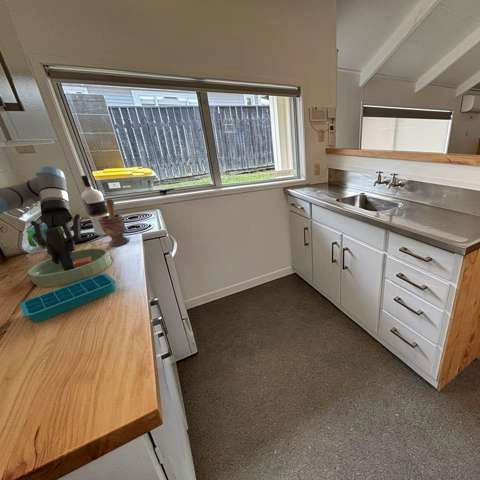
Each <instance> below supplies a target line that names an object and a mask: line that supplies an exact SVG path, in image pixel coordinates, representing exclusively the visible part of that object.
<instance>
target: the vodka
mask: <svg viewBox="0 0 480 480" xmlns="http://www.w3.org/2000/svg"><path fill="white" fill-rule="evenodd" d="M80 178H81V180H82V183H83V185H84V188H85V190H84V191H83V192H82V193H80V198H81V200H82V202H83V203H84V207H85V208H86V211H87V215H88V217H89V219H90V221H91V224H92V227H93V232H94V234H95V236H98V237H103V236H107V235H106V234H105V232H104V231H103V229H102V227H101V225H100V223H99V220H98V219H99V218H101V217H104V216H109V213H108V209H107V205H106V200H105V198H104V195H103V193H102V191H100V190H98V189H95V188H93V186H92V184H91V183H92V182H91V181H90V178H89V175H81V177H80Z"/></svg>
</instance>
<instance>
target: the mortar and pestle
mask: <svg viewBox="0 0 480 480" xmlns="http://www.w3.org/2000/svg"><path fill="white" fill-rule="evenodd" d="M105 204H106V206H107V209H108V213H109V216H104V217H101V218H99V219H98V220H99V223H100V225H101V227H102V229H103V231H104V232H105V234H106V235H105V236H108V237H109V238H111V239H110V240H109V246H110V247H115V246H116V247H119V246H123V245H125V244H128V243H130V239H128V238H127V237H125V236H124V233H125V232H126V223H125V221H124V217H123V215H122V214H115V201H114V200H113V199H111V198H108V199H106V200H105Z"/></svg>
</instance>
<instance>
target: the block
mask: <svg viewBox="0 0 480 480" xmlns="http://www.w3.org/2000/svg"><path fill="white" fill-rule="evenodd" d="M91 262H93V261H92V258H91V257H87V258H82V259H77V260H75V262H74V263H73V266H74V268H78V267H81V266H84V265H86V264H89V263H91Z"/></svg>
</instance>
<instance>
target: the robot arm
mask: <svg viewBox="0 0 480 480" xmlns="http://www.w3.org/2000/svg"><path fill="white" fill-rule="evenodd" d="M36 203H39V205H40V206H39V207H40V213H41V216H40V217H39V219H38V220H36V221H35V220H31V221H30V222H29V223H30V225H31V226H32V227H34V229H35V233H36V237H37V241H38V244H39V245H41V246H42V247H47V248H46V252H47V255H48V256H51V258H52V261H53V262H54V263H55V264H59V258H58V256H57V254H56V252H55V250H54V248H53V246H52V244H51V242H50V239H49V237H48V235H47V236H46V240H45V236H44V233H43V229H42V228H41V227H42V225H43V224H47V230H49V229H55V228H57V227H61V228H62V229H63V231H64V236H65V239H66V241H65V248H66V255H67V259H69V260H70V261H74V260H73V254H72V252H73V251H76V244H75V243H76V242H80V241H82V229H81V223H82V221H83V217H82V216H81V215H80V214H79V213H77V214H72V212H71V205H70V199H69V193H68V187H67V179H66V175H65V173H64V172H63V170H61V169H60V168H57V167H54V166H50V165H49V166H48V165H47V166H41V167H39V168H37V169H36V173H35V177H33V178H30V179H29V180H27V181H24V182H22V183H19V184H16V185H10V186H6V187H0V215H1V214H4V213H5V212H9V211H12V210H16V209H24V208H27V207H30V206H33V205H34V204H36ZM72 220H73V221H72ZM71 221H72V223H73V224H72V225H73V227H72V228H73V233H72V231H71V229H70V225H69V223H70V222H71Z"/></svg>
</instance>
